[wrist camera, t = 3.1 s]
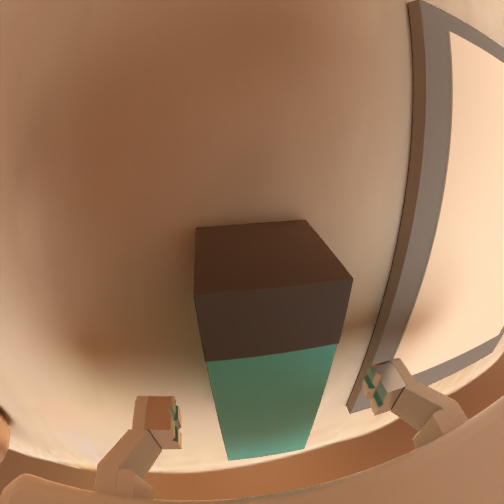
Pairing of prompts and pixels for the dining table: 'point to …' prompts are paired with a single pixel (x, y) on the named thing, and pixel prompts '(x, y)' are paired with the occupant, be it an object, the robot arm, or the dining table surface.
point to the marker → (267, 329)
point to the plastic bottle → (4, 437)
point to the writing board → (447, 209)
